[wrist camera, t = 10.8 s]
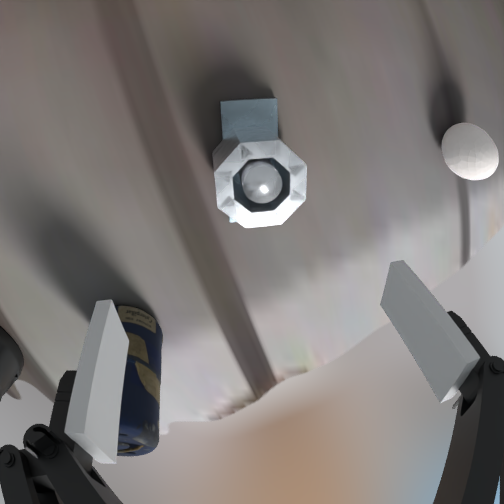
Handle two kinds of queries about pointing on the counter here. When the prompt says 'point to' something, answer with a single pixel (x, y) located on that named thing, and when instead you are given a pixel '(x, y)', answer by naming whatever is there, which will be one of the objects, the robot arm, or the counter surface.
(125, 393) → the canister
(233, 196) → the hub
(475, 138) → the egg
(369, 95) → the counter surface
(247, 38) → the counter surface
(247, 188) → the shaft stand
